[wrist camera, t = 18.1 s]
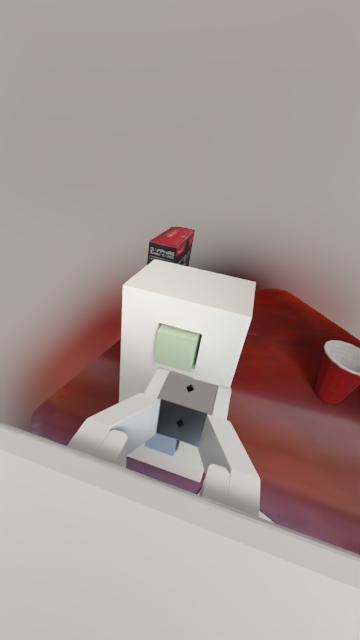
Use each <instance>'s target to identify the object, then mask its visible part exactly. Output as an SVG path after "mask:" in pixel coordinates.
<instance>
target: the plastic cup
mask: <svg viewBox="0 0 360 640" xmlns="http://www.w3.org/2000/svg"><path fill="white" fill-rule="evenodd" d="M359 385H360V348H358V347H356V346H354V345H352V344H349V343H346V342H343V341H338V340H331V341H328V342H326V344H325V346H324V355H323V358H322V363H321V366H320V370H319V373H318V376H317V382H316V385H315V393H316V395H317V396H318V397H319V398H320V399H321V400H322V401H324V402H326V403H329V404H339V403H340V402H342V401H343V400H344V399H345V398H346V397H347V396H348V395H349V394H350V393H351V392H352V391H353V390H354V389H356V388H357V387H358V386H359Z"/></svg>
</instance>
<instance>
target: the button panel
mask: <svg viewBox="0 0 360 640" xmlns="http://www.w3.org/2000/svg"><path fill="white" fill-rule="evenodd" d="M255 286H256V282H253V281H249V280H244V279H240V278H236V277H231V276H227V275H223V274H218V273H213V272H209V271H205V270H201V269H196V268H192V267H188V266H183V265H179V264H175V263H170V262H166V261H162V260H157V259H154V260H153V261H152V262H151V263H149V264H148V265H147V266H146V267H144V268H143V269H142V270H141V271H139V272H138V273H137V274H136V275H135V276H133V277H132V278H131V279H129V280H128V281H127V282H126V283H124V284H123V296H122V327H121V356H120V386H119V403H120V402H122V401H124V400H126V399H128V398H130V397H132V396H134V395H136V394H138V393H142V394H143V393H144V391H145V389H146V388H147V386H148V384H149V382H150V380H151V379H152V377H153V375H154V373H155V372H156V370H157V368H159V367H161V368H164V369H167V370H170V371H174V372H177V373H180V374H183V375H187V376H190V377H193V378H196V379H200V380H203V381H206V382H210V383H213V384H217V385H221V386H225V387H228V388H230V386H231V383H232V379H233V376H234V373H235V370H236V367H237V364H238V360H239V357H240V354H241V351H242V348H243V344H244V341H245V338H246V335H247V332H248V328H249V325H250V322H251V319H252V313H253V304H254V295H255ZM162 324H165V325H169V326H173V327H177V328H180V329H184V330H188V331H191V332H195V333H199V334H202V338H201V342H200V347H199V351H198V354H197V357H196V359H195V362H194V364H193V367H192V370H191V372H187V371H183V370H180V369H177V368H173V367H170V366H166V365H163V364H160V363H156V362H154V359H155V351H156V342H157V333H158V330H159V328H160V327H161V325H162ZM128 457H130V458H133V459H136V460H139V461H141V462H144V463H147V464H150V465H153V466H155V467H158V468H161V469H164V470H166V471H169V472H172V473H175V474H177V475H180V476H183V477H186V478H188V479H191V480H194V481H197V482H199V483H200V481H201V478H202V475H203V472H204V467H203V464H202V461H201V457H200V454H199V450H198V447H196V446H193V445H191V444H188V443H185V442H182V441H180V440H178V443H177V446H176V449H175V452H174V455H173V456H171V455H168V454H165V453H162V452H159V451H156V450H154V449H151V448H148V447H145V443H143V444H142V445H141V446H139V447H138V448H137V449H135V450H134V451H133V452H131V453H130V454H129V455H128Z"/></svg>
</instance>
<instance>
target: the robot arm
mask: <svg viewBox="0 0 360 640" xmlns="http://www.w3.org/2000/svg"><path fill="white" fill-rule="evenodd" d="M230 396H231V388H228V387H225V386H221V385H217V384H213V383H210V382H206V381H203V380H200V379H196V378H193V377H190V376H187V375H183V374H180V373H177V372H174V371H170V370H167V369H164V368H161V367H159V368H157V370H156V372H155V373H154V375H153V377H152V379H151V380H150V382H149V384H148V386H147V388H146V389H145V391H144V393H143V394H142V393H138V394H136V395H134V396H132V397H130V398H128V399H126V400H124V401H122V402H120V403H117V404H115V405H113V406H111V407H109V408H107V409H105V410H103V411H101V412H99V413H97V414H95V415H93V416H91V417H89V418H87V419H86V420H85V422H84V423H83V424H82V426H81V427H80V428H79V430H78V431H77V433H76V434H75V435H74V437H73V438H72V439H71V441H70V442H69V443H68V445H67V446H65V445H62V444H59V443H57V442H54V441H51V440H49V439H46V438H43V437H40V436H38V435H35V434H32V433H30V432H27V431H24V430H22V429H19V428H16V427H13V426H11V425H8V424H5V423H3V422H0V640H360V555H359V554H356V553H354V552H351V551H348V550H346V549H343V548H340V547H337V546H335V545H332V544H329V543H327V542H324V541H321V540H319V539H316V538H313V537H310V536H308V535H305V534H302V533H300V532H297V531H294V530H292V529H289V528H286V527H284V526H281V525H278V524H275V523H273V522H270V521H267V520H265V519H262V518H259V512H260V477H259V476H258V474H257V472H256V470H255V468H254V466H253V464H252V462H251V460H250V458H249V456H248V454H247V453H246V451H245V449H244V447H243V445H242V443H241V441H240V439H239V437H238V435H237V433H236V432H235V430H234V428H233V426H232V424H231V422H230V421H227V414H228V408H229V402H230ZM156 433H158V434H161V435H164V436H167V437H171V438H174V439H177V440H180V441H182V442H185V443H188V444H191V445H193V446H196V447H198V450H199V454H200V457H201V461H202V464H203V467H204V471H205V474H206V476H205V479H204V482H203V485H202V488H201V491H200V494H199V495H197V494H194V493H191V492H189V491H186V490H183V489H181V488H178V487H175V486H173V485H170V484H167V483H164V482H162V481H159V480H156V479H154V478H151V477H148V476H146V475H143V474H140V473H138V472H135V471H132V470H129V469H127V468H126V459H127V456H128V455H129V454H130V453H131V452H133V451H134V450H135V449H137V448H138V447H139V446H141V445H142V444H143V443H145V442H146V441H147V440H149V439H150V438H151V437H153V436H154V435H155V434H156Z"/></svg>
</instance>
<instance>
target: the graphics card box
mask: <svg viewBox="0 0 360 640" xmlns="http://www.w3.org/2000/svg"><path fill="white" fill-rule="evenodd" d="M193 237H194V230H192V229H188V228H183V227H171V228H170V229H168V230H167V231H165V232H163V233H162V234H160V235H159V236H157V237H156V238H154V239H152V240H151V241H150V242H149V252H148V262H147V265H148V264H149V263H151V262H152V261H153V260H154V259H157V260H162V261H166V262H170V263H175V264H179V265H183V266H188V265H189V259H190V253H191V247H192V242H193Z"/></svg>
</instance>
